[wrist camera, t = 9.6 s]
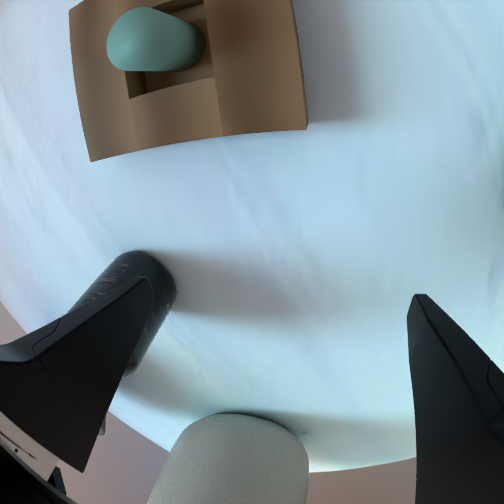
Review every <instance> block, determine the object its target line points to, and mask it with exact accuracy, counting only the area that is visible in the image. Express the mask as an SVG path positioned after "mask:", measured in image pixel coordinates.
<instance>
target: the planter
mask: <svg viewBox="0 0 504 504" xmlns="http://www.w3.org/2000/svg"><path fill="white" fill-rule="evenodd" d="M308 482H309V461H308V456H307V452H306V450H305V448H304V446H303V445H302V444H301V442H300V441H299V440H298V439H297V438H296V437H295V436H294V435H293V434H292V433H291V432H289V431H288V430H287V429H285V428H284V427H282V426H280V425H278V424H276V423H274V422H271V421H268V420H265V419H262V418H258V417H254V416H249V415H243V414H231V413H227V414H216V415H212V416H208V417H205V418H202V419H199V420H197V421H195V422H193V423H192V424H190V425H189V426H188V427H187V428H185V430H184V431H183V432H182V433H181V434H180V436H179V437H178V439H177V441H176V442H175V444H174V446H173V448H172V450H171V452H170V454H169V456H168V458H167V460H166V462H165V464H164V466H163V468H162V471H161V473H160V475H159V477H158V480H157V482H156V484H155V486H154V488H153V491H152V493H151V495H150V497H149V499H148V502H147V504H306V500H307V492H308Z"/></svg>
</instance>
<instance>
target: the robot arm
mask: <svg viewBox="0 0 504 504" xmlns="http://www.w3.org/2000/svg"><path fill="white" fill-rule="evenodd" d="M154 299H155V296H154V292H153V290H152V287H151V284H150V281H149V279H148V278H147V277H140V276H138V277H135V278H133V279H131V280H129V281H127V282H126V283H124V284H122V285H120V286H118V287H116V288H114V289H112V290H110V291H108V292H106V293H105V294H103V295H101V296H99V297H97V298H95V299H93V300H91V301H90V302H88V303H86V304H84V305H82V306H80V307H78V308H77V309H75V310H73V311H71V312H69V313H67V314H66V315H64V316H62V317H60V318H58V319H56V320H55V321H53V322H51V323H49V324H47V325H45V326H43V327H41V328H39V329H37V330H35V331H33V332H31V333H29V334H27V335H25V336H23V337H21V338H19V339H17V340H15V341H13V342H10V343H8V344H4V345H0V504H77V503H76V502H74V501H73V500H72V499H70V498H68V497H67V496H66V490H65V487H64V483H63V479H62V475H61V471H60V468H58V467H57V466H56V464H57V462H58V461H59V459H61V460H62V461H64V462H66V463H67V464H69V465H70V466H72V467H73V468H75V469H76V470H78V471H80V472H81V473H83V472H84V470H85V467H86V465H87V462H88V459H89V457H90V454H91V451H92V448H93V446H94V443H95V441H96V438H97V436H98V433H99V431H100V427H101V426H102V423H103V421H104V418H105V416H106V413H107V411H108V409H109V406H110V404H111V401H112V399H113V397H114V394H115V392H116V390H117V388H118V385H119V383H120V381H121V379H122V376H123V374H124V372H125V370H126V367H127V365H128V363H129V361H130V359H131V357H132V354H133V352H134V350H135V348H136V346H137V344H138V342H139V340H140V337H141V335H142V333H143V330H144V327H145V325H146V322H147V319H148V316H149V314H150V311H151V308H152V306H153V303H154ZM407 330H408V349H409V365H410V373H411V381H412V390H413V400H414V411H415V426H416V452H417V474H416V479H417V480H416V497H415V504H504V373H503V372H502V371H501V370H500V369H499V368H498V367H497V366H496V364H495V363H494V362H493V361H492V360H490V358H489V357H488V356H487V355H486V353H485V352H484V351H483V350H482V349H481V348H480V347H479V346H478V345H477V344H476V343H475V342H474V341H473V340H472V339H471V338H470V337H469V335H468V334H467V333H466V332H465V331H464V330H463V329H462V328H461V327H460V326H459V325H458V324H457V323H456V322H455V321H454V320H453V319H452V318H451V317H450V316H449V315H448V314H447V313H446V312H445V311H443V310H442V309H441V308H440V307H439V306H438V305H437V304H436V303H435V302H434V301H433V300H432V299H431V298H430V297H429V296H428V295H426V294H415V295H414V296H413V298H412V301H411V304H410V307H409V310H408V314H407Z"/></svg>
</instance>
